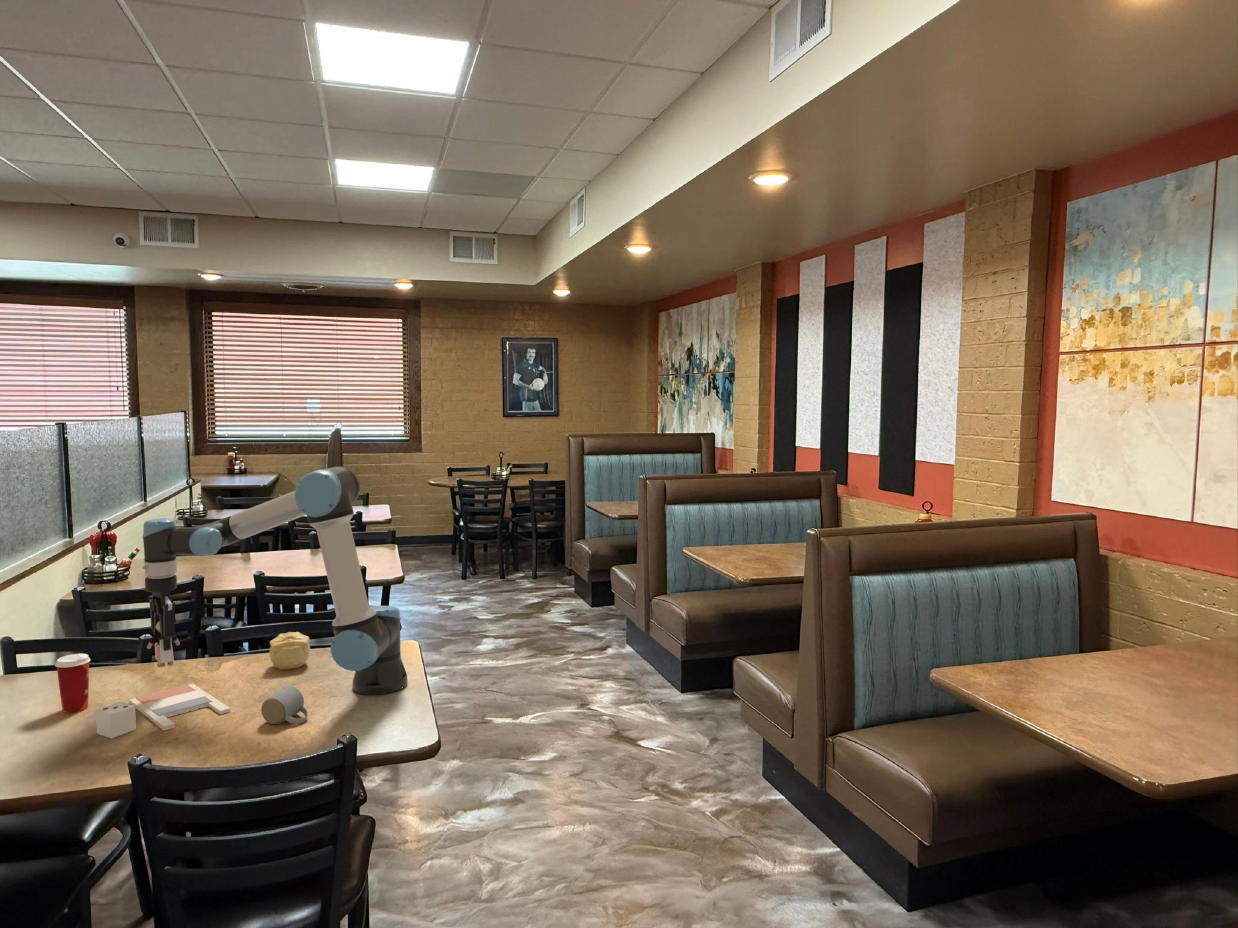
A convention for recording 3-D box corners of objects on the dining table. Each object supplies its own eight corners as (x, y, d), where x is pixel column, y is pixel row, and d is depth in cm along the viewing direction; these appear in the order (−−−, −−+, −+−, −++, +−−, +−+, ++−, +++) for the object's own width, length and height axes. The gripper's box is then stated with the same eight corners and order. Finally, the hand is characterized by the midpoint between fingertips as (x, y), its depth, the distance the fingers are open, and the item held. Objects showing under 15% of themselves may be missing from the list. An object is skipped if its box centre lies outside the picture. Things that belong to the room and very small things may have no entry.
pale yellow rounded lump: (270, 674, 234) (269, 639, 233) (269, 662, 245) (268, 628, 244) (311, 669, 239) (310, 635, 238) (309, 657, 250) (308, 624, 249)
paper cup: (99, 706, 210) (96, 655, 208) (69, 716, 203) (66, 664, 201) (81, 701, 213) (78, 651, 212) (50, 711, 206) (47, 659, 205)
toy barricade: (230, 711, 206) (230, 707, 206) (163, 730, 195) (163, 725, 194) (192, 687, 224) (192, 682, 224) (129, 702, 212) (129, 698, 212)
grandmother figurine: (177, 660, 219) (175, 615, 218) (181, 663, 216) (180, 618, 215) (146, 666, 213) (144, 621, 212) (150, 670, 211) (148, 624, 210)
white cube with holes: (136, 729, 195) (135, 705, 195) (111, 738, 190) (110, 713, 189) (121, 724, 198) (120, 701, 197) (96, 733, 193) (95, 709, 192)
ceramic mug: (258, 724, 198) (258, 695, 198) (278, 712, 206) (278, 683, 206) (296, 729, 196) (296, 699, 196) (315, 716, 204) (314, 687, 204)
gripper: (135, 572, 215) (138, 655, 217) (155, 582, 205) (159, 670, 207) (165, 568, 221) (168, 649, 223) (186, 578, 210) (189, 663, 212)
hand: (163, 659), depth 215 cm, fingers closed on grandmother figurine, 3 cm apart
